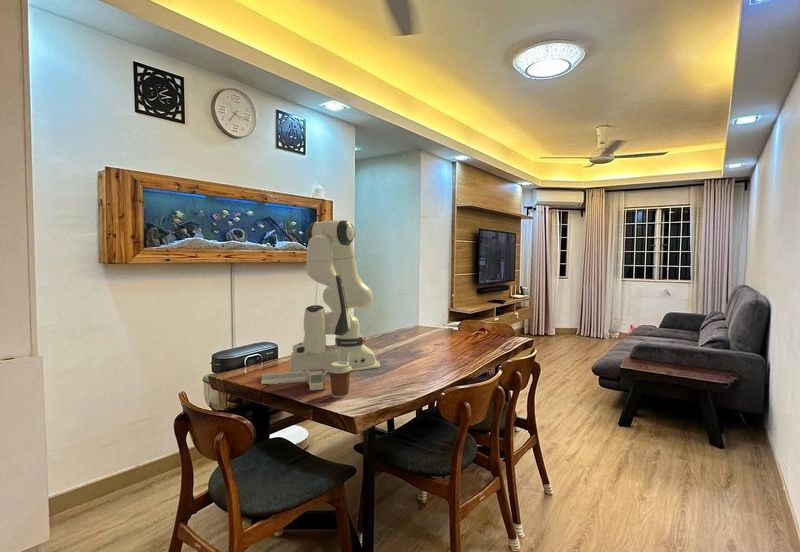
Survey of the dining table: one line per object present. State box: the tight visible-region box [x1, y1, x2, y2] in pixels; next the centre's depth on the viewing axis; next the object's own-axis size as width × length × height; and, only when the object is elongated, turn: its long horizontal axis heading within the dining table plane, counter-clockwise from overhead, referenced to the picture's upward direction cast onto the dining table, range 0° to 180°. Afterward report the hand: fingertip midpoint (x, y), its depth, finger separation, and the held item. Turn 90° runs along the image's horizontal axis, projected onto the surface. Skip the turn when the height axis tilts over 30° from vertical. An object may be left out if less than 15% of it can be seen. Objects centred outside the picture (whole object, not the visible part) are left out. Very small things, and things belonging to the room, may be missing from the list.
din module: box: [307, 369, 324, 391], centre depth 169 cm, size 5×9×7 cm, turn 17°
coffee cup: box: [327, 362, 353, 399], centre depth 159 cm, size 9×9×12 cm
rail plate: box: [260, 370, 308, 386], centre depth 180 cm, size 20×12×2 cm, turn 107°
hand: (315, 380), depth 170 cm, fingers closed on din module, 5 cm apart
